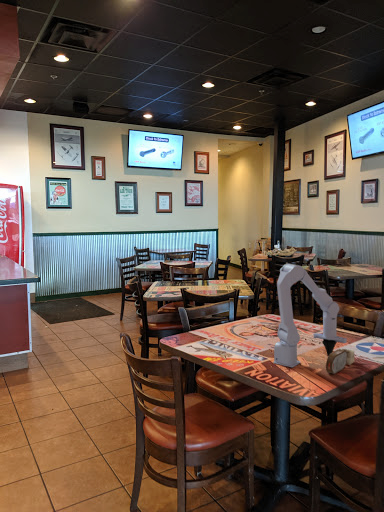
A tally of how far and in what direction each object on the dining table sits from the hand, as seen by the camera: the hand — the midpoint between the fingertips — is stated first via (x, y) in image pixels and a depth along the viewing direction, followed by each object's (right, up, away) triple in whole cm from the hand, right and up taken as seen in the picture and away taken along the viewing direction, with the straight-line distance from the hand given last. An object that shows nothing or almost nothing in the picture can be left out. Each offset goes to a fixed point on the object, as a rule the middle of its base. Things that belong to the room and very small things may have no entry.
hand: (329, 355), depth 177 cm
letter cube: (+6, -2, -5) cm, 8 cm away
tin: (-2, -3, -15) cm, 15 cm away
